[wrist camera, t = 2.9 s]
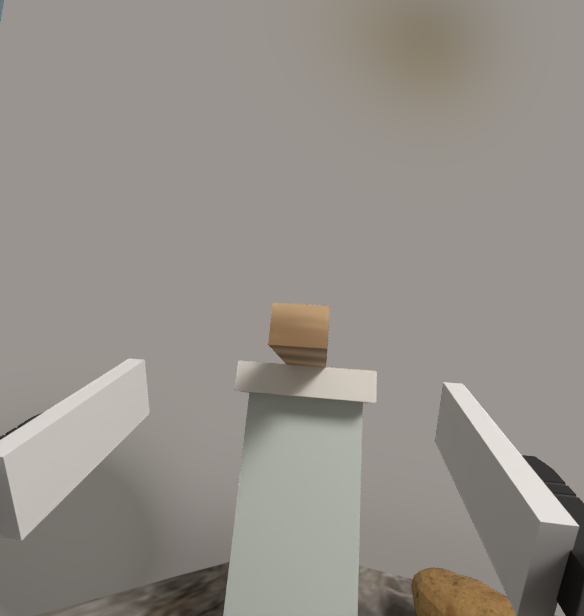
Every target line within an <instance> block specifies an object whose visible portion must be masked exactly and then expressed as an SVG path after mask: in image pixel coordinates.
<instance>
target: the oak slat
mask: <svg viewBox="0 0 584 616" xmlns="http://www.w3.org/2000/svg"><path fill="white" fill-rule="evenodd" d="M329 310H330V306H327V305H308V304H290V303H273V305H272V314H271V324H270V333H269V343H268V345H269V346H270V347H271V348H272V349H273V350H274V351H275V352H276V354H278V356H279V357H280V358H281V359H282V360H283V361H284V362H285V363H286V364H289V365H302V366H315V367H326V359H327V346H328V328H329Z"/></svg>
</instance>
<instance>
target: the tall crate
mask: <svg viewBox="0 0 584 616" xmlns="http://www.w3.org/2000/svg"><path fill="white" fill-rule="evenodd" d="M376 383H377V371H367V370H355V369H340V368H328V367H315V366H302V365H289V364H276V363H263V362H250V361H238V367H237V375H236V383H235V391H241V392H248V393H249V401H248V410H247V418H246V427H245V436H244V444H243V452H242V461H241V469H240V478H239V486H238V495H237V503H236V512H235V520H234V529H233V537H232V547H231V554H230V563H229V571H228V580H227V588H226V597H225V605H224V614H223V616H357V610H358V570H359V529H360V528H359V527H360V489H361V450H362V409H363V403H376V389H377V388H376V387H377V386H376V385H377V384H376Z"/></svg>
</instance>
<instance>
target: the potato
mask: <svg viewBox="0 0 584 616" xmlns="http://www.w3.org/2000/svg"><path fill="white" fill-rule="evenodd" d="M411 588H412V594H413V599H414V605H415V611H416V614H417V616H516V614H515V612H514V610H513V607H512V605H511V603H510V601H509V599H508V597H506V596H504V595H503V594H501V593H499V592H497V591H495V590H493V589H492V588H490V587H489V586H487V585H486V584H484V583H483V582H481V581H478V580H476V579H473V578H470V577H467V576H463V575H459V574H456V573H454V572H451V571H449V570H446V569H442V568H428V569H424V570H421V571H419V572H418V573H417V574H416V575H414V578H413V581H412V584H411Z"/></svg>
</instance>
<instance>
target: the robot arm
mask: <svg viewBox="0 0 584 616" xmlns="http://www.w3.org/2000/svg"><path fill="white" fill-rule="evenodd" d="M3 2H4V0H0V21H1V14H2V9H3ZM148 414H149V402H148V392H147V380H146V370H145V360H140V359H128V360H126V361H125V362H123V363H121V364H120V365H118V366H117V367H115V368H114V369H112V370H110V371H109V372H107V373H106V374H104V375H102V376H101V377H99V378H98V379H96V380H94V381H93V382H91V383H90V384H88V385H87V386H85V387H83V388H82V389H80V390H79V391H77V392H75V393H74V394H72V395H71V396H69V397H68V398H66V399H64V400H63V401H61V402H60V403H58V404H56V405H55V406H53V407H52V408H50V409H49V410H47V411H45V412H43V413H41V414H38V415H36V416H34V417H32V418H30V419H28V420H27V421H25V422H24V423H22V424H20V425H19V426H18V428H14V429H12V430H11V431H9V432H7V433H6V435H3V436H1V437H0V537H2V538H9V539H15V540H23V539H24V538H25V537H26V536H27V535H28V534H29V533H30V532H31V531H32V530H33V529H34V528H35V527H36V526H37V525H38V524H39V523H40V522H41V521H42V520H43V518H45V517H46V516H47V515H48V514H49V513H50V512H51V511H52V510H53V509H54V508H55V507H56V506H57V505H58V504H59V503H60V502H61V501H62V500H63V499H64V498H65V497H66V496H67V495H68V494H69V493H70V492H71V491H72V490H73V489H74V488H75V487H76V486H77V485H78V484H79V483H80V482H81V481H82V480H83V479H84V478H85V477H86V476H87V475H88V474H89V473H90V472H91V471H92V470H93V469H94V468H95V467H96V466H97V465H98V464H99V463H100V462H101V461H102V460H103V459H104V458H105V457H106V456H107V455H108V454H109V453H110V452H111V451H112V450H113V449H114V448H115V447H116V446H117V445H118V444H119V443H120V442H121V441H122V440H123V439H124V438H125V437H126V436H127V435H128V434H129V433H130V432H131V431H132V430H133V429H134V428H135V427H136V426H137V425H138V424H139V423H140V422H141V421H142V420H143V419H144V418H145V417H146V416H147V415H148ZM435 442H436V444H437V446H438V449H439V450H440V452H441V455H442V457H443V459H444V461H445V464H446V466H447V468H448V470H449V472H450V474H451V476H452V479H453V481H454V483H455V485H456V487H457V489H458V491H459V494H460V496H461V498H462V500H463V502H464V504H465V507H466V509H467V511H468V513H469V515H470V517H471V519H472V522H473V524H474V526H475V528H476V530H477V532H478V534H479V537H480V539H481V541H482V543H483V545H484V547H485V549H486V552H487V554H488V556H489V558H490V560H491V562H492V564H493V567H494V569H495V571H496V573H497V575H498V577H499V579H500V581H501V584H502V586H503V588H504V590H505V592H506V595H507V597H508V599H509V601H510V603H511V605H512V607H513V610H514V612H515V614H516V616H554V613H555V610H556V606H557V603H559V605H560V607H561V608H562V610H563V612H564V613H565V615H566V616H584V503H583V502H582V501H581V500H580V499H579V498H577V497H576V494H575V493H574V492H573V491H572V490H571V489H570V488H569V486H566V484H565V482H564V481H563V480H562V479H561V478H560V476H559V475H558V474H557V473H556V472H555V471H554V470H553V469H552V468H550V467H549V466H548V465H546V464H545V463H544V462H542V461H541V460H539V459H537V458H536V457H534V456H524V455H521V454H520V453H519V452H518V451H517V449H516V448H515V447H514V446H513V444H512V443H511V442H510V441H509V440H508V438H507V437H506V436H505V435H504V434H503V432H502V431H501V430H500V429H499V427H498V426H497V425H496V424H495V422H494V421H493V420H492V419H491V418H490V416H489V415H488V414H487V413H486V411H485V410H484V409H483V408H482V407H481V405H480V404H479V403H478V402H477V400H476V399H475V398H474V397H473V396H472V394H471V393H470V392H469V391H468V390H467V388H466V387H465V386H464V384H458V383H446V382H443V388H442V395H441V403H440V409H439V416H438V423H437V430H436V437H435Z"/></svg>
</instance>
